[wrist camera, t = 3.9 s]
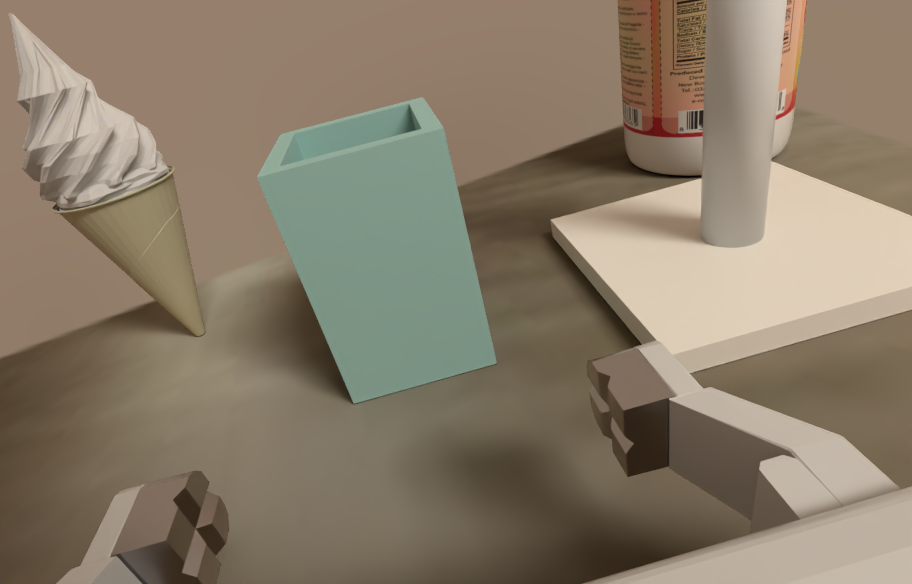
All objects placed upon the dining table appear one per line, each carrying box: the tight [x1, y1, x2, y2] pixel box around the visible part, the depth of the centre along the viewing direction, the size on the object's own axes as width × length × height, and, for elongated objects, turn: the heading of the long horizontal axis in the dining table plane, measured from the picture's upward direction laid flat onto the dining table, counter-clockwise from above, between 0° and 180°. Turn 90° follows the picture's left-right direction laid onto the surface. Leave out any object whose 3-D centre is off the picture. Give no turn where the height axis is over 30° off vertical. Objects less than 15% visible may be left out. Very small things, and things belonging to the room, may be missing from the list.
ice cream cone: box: [8, 13, 205, 336], centre depth 23 cm, size 5×5×15 cm
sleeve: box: [257, 97, 497, 404], centre depth 20 cm, size 6×6×9 cm
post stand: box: [551, 0, 912, 373], centre depth 19 cm, size 12×12×15 cm
